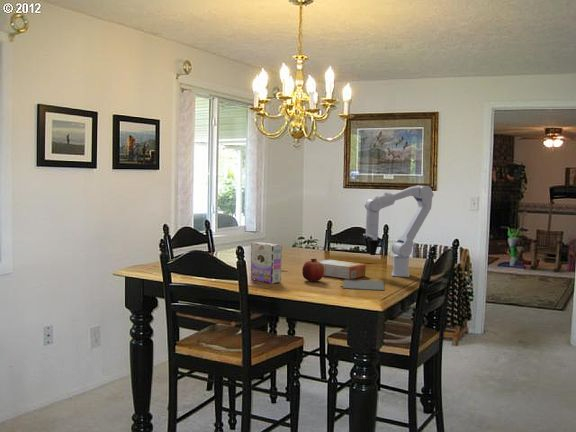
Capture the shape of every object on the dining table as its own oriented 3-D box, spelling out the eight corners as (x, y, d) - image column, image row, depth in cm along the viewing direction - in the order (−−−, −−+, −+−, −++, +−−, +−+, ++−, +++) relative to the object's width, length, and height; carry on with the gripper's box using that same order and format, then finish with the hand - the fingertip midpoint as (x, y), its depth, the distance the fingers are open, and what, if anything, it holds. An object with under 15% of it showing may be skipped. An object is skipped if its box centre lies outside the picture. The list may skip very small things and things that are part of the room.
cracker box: (365, 277, 283) (328, 271, 296) (366, 264, 282) (329, 258, 295) (349, 280, 272) (311, 274, 285) (350, 267, 271) (312, 261, 284)
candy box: (281, 282, 261) (282, 244, 260) (271, 284, 257) (272, 245, 256) (260, 278, 271) (261, 241, 269) (250, 279, 267) (250, 242, 265)
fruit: (306, 278, 273) (306, 256, 272) (327, 280, 269) (328, 258, 268) (297, 282, 263) (298, 259, 262) (319, 284, 259) (320, 261, 259)
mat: (344, 280, 272) (344, 279, 272) (383, 282, 270) (383, 281, 270) (342, 288, 252) (342, 287, 252) (384, 290, 250) (384, 289, 250)
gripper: (360, 223, 289) (359, 251, 290) (366, 226, 275) (365, 255, 276) (375, 223, 290) (374, 251, 291) (382, 226, 275) (381, 256, 276)
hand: (370, 253), depth 283 cm, fingers open, 7 cm apart
